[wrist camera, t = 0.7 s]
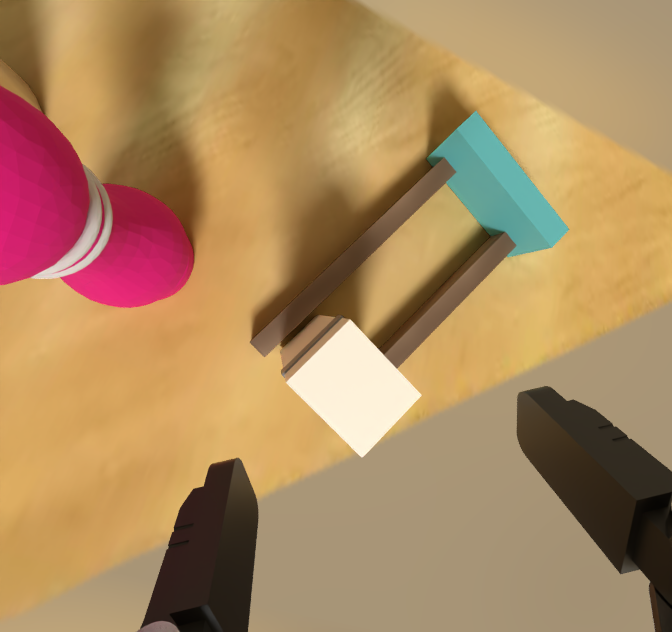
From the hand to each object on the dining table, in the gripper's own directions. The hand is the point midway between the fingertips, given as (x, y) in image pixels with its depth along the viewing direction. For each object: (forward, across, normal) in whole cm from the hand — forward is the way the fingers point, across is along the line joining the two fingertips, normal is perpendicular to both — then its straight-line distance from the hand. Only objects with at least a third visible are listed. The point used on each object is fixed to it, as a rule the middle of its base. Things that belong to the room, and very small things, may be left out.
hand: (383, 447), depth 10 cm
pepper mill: (+20, +12, -4) cm, 23 cm away
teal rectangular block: (+23, -14, -2) cm, 27 cm away
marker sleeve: (+17, +2, +6) cm, 18 cm away
